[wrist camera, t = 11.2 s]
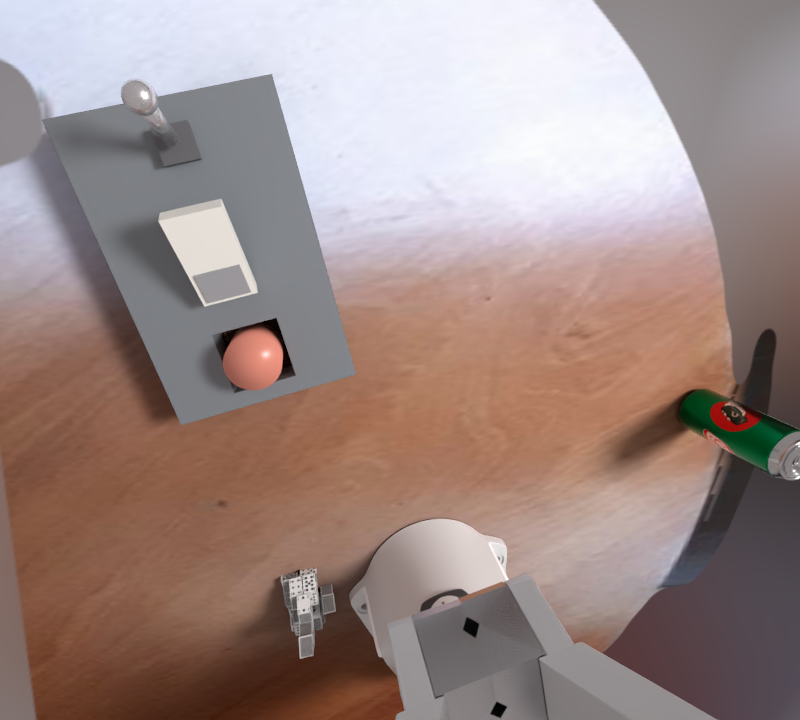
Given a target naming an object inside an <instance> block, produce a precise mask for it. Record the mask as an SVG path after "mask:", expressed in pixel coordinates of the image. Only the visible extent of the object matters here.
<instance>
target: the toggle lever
mask: <svg viewBox="0 0 800 720" xmlns="http://www.w3.org/2000/svg"><path fill="white" fill-rule="evenodd" d="M121 97H122V101H123V103H124V104H125V106H126V107H127V108H128V109H129V110H130V111H131V112H133V113H134V114H136V115H139V116H143V117H144V118H145V119H146V121H147V122H148V123H149V124H150V126H151V127H152V128H153V129H154V131H155V132H156V133H157V134H158V136H159V137H160V138H161V139H162V141H163V142H164V143H165V144H166V145H167V146H169V147H176V146H177V145H178V144H179V137H178V135H177V133H176V132H175V131H174V129H173V128H172V126H171V125H170V124H169V122H168V121H167V119H166V118H165V117H164V115H163V114H162V112H161V111H160V110H159V108H158V97H157V94H156V92H155V90H154V89H153V88H152V86H150V85H149V84H148V83H147V82H145V81H143V80H140V79H130V80H128V81H126V82H125V83H124V84H123V86H122V88H121Z"/></svg>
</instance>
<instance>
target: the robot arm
mask: <svg viewBox="0 0 800 720" xmlns="http://www.w3.org/2000/svg"><path fill="white" fill-rule="evenodd" d="M506 558H507V548H506V546H505V543H504V541H503V540H502V539H500V538H497V537H492V536H486V535H482V534H480V533H479V532H477V531H476V530H474V529H473V528H472V527H470V526H468V525H466V524H464V523H462V522H459V521H455V520H450V519H431V520H425V521H421V522H418V523H415V524H412V525H410V526H408V527H406V528H404V529H402V530H400V531H398V532H397V533H395V534H394V535H393V536H391V537H390V538H389V539H388V540H387V541H386V542H385V543H384V544H383V545H382V546H381V547H380V548H379V549H378V551H377V552H376V554H375V555H374V557H373V559H372V561H371V563H370V565H369V568H368V570H367V572H366V574H365V576H364V577H363V578H362V579H361V580H360V581H359V582H358V583H357V584H356V585H355V586H354V588H353V589H352V590H351V592H350V594H349V600H350V603H351V606H352V608H353V609H354V610H355V612H356V613H357V615H358V616H359V618H360V619H361V620H362V622H363V623H364V625H365V626H366V628H367V629H368V631H369V632H370V633H371V635H372V636H373V638H374V641H375V646H376V650H377V653H378V656H379V657H382V658H383V659H384V661H385V662H386V664H387V665H388V666H389V668H390V669H391V670H392V671H393V672H394V673H395V674H396V675H397V678H398V682H399V687H400V688H399V690H400V694H401V699H402V701H403V706H404V710H405V711H403V712H401V713H398V714H397V715H396V719H395V720H717V719H715V718H713V717H711V716H710V715H707V714H706V713H704V712H703V711H701V710H699V709H697V708H696V707H694V706H692V705H690V704H689V703H687V702H685V701H684V700H682V699H680V698H678V697H677V696H675V695H673V694H672V693H670V692H668V691H666V690H665V689H663V688H661V687H659V686H657V685H656V684H654V683H652V682H651V681H649V680H647V679H646V678H644V677H642V676H640V675H638V674H637V673H635V672H633V671H632V670H630V669H628V668H626V667H625V666H623V665H621V664H619V663H618V662H616V661H614V660H613V659H611V658H609V657H607V656H606V655H604V654H602V653H600V652H599V651H597V650H595V649H594V648H592V647H590V646H588V645H587V644H585V643H583V642H580V643H577V644H574V643H573V641H572V640H571V638H570V636H569V635H568V633H567V632H566V630H565V629H564V627H563V626H562V624H561V622H560V621H559V619H558V618H557V616H556V615H555V613H554V611H553V610H552V608H551V607H550V605H549V604H548V602H547V601H546V599H545V597H544V596H543V594H542V593H541V591H540V590H539V588H538V586H537V585H536V583H535V582H534V580H533V579H532V577H531V576H530V575H528V574H527V573H526V574H523V575H521V576H518V577H515V578H512V579H510V580H508V578H507V576H506Z"/></svg>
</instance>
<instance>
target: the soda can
mask: <svg viewBox="0 0 800 720" xmlns="http://www.w3.org/2000/svg"><path fill="white" fill-rule="evenodd" d="M679 418H680V421H681V423H682V425H683V426H684V427H686V428H688V429H689V430H691V431H693V432H695V433H697V434H698V435H700V436H702V437H704V438H705V439H707V440H709V441H711V442H712V443H714V444H716V445H718V446H720V447H721V448H723V449H725V450H727V451H728V452H730V453H732V454H734V455H735V456H737V457H739V458H741V459H743V460H744V461H746V462H748V463H750V464H751V465H753V466H755V467H757V468H759V469H760V470H762V471H764V472H766V473H767V474H769V475H771V476H773V477H777V478H784V479H787V480H796V479H800V429H798V428H795V427H793V426H791V425H788V424H786V423H784V422H782V421H779V420H777V419H775V418H773V417H770V416H768V415H766V414H764V413H761V412H759V411H757V410H754V409H752V408H750V407H748V406H745V405H743V404H741V403H739V402H736V401H734V400H732V399H730V398H727V397H725V396H723V395H720V394H718V393H716V392H714V391H711V390H709V389H701V390H697V391H695V392H692V393H691V394H689V395H688V396H687V397H686V398H685V399H684V400H683V402H682V403H681V406H680V409H679Z"/></svg>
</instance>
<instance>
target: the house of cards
mask: <svg viewBox="0 0 800 720" xmlns="http://www.w3.org/2000/svg"><path fill="white" fill-rule="evenodd" d="M316 574H317V567H316V568H311V569H307V570H302V571H300V576H298V571H297V573H292V574H287V575H282V576H281V582H282V587H283V592H284V600H285V605H286V607H288V611H289V614H290V624H291V630H292V631H295V634H296V636H298V635H299V652H300V659H301V658H306V657H310V656H314V647H315V642H314V638H315V631H316V630H320V629H323V623H325V622H326V617H325V615H324V614H327V613H331V612H336V609H335V600H334V594H333V588H332V584H329V585H325V586H320V588H321V592H319V593H318V588H317V587H318V586H317V578H316Z"/></svg>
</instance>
